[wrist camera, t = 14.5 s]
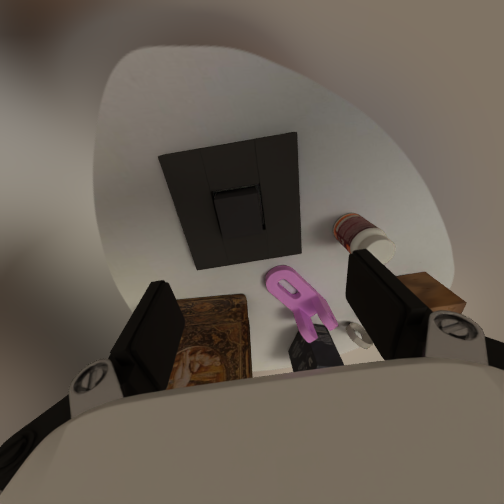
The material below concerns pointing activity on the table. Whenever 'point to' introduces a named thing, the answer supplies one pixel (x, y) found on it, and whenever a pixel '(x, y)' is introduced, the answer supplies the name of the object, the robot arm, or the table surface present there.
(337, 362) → the box
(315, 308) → the bracket
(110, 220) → the table surface
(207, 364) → the book
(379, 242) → the pill bottle
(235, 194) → the pad
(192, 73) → the table surface
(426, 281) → the wooden block
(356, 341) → the wristwatch
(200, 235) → the base pad
